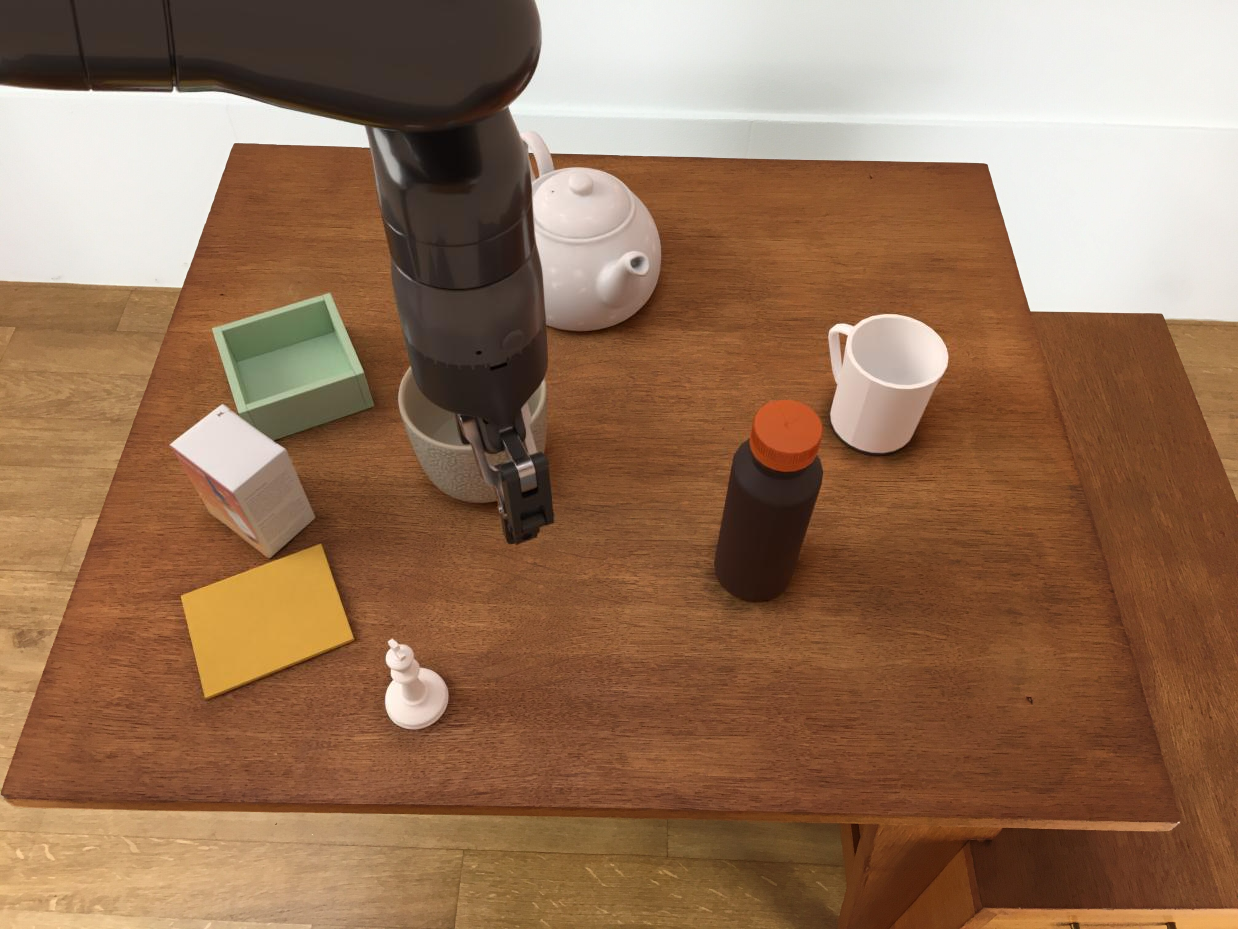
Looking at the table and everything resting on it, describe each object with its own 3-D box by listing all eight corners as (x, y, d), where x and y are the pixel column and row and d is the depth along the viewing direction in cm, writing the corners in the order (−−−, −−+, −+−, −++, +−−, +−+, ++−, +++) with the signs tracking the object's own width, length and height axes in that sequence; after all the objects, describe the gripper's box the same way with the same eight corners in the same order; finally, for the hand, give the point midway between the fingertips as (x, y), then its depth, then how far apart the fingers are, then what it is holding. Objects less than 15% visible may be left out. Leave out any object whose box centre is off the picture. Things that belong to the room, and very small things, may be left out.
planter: (410, 427, 92) (389, 349, 83) (537, 403, 94) (530, 325, 85) (428, 534, 85) (407, 462, 76) (565, 506, 87) (560, 433, 78)
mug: (934, 418, 93) (966, 345, 85) (887, 476, 89) (916, 405, 81) (837, 364, 97) (859, 289, 89) (789, 416, 93) (807, 343, 85)
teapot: (681, 238, 108) (690, 133, 97) (643, 357, 98) (648, 254, 87) (522, 210, 111) (513, 104, 100) (468, 322, 100) (451, 218, 89)
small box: (209, 514, 86) (165, 443, 78) (258, 473, 89) (221, 400, 80) (269, 561, 83) (231, 493, 75) (318, 518, 86) (286, 447, 77)
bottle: (728, 525, 86) (756, 377, 70) (801, 550, 85) (848, 405, 68) (702, 587, 82) (726, 446, 66) (778, 614, 81) (822, 477, 65)
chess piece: (407, 742, 74) (382, 691, 66) (373, 695, 76) (346, 640, 68) (460, 703, 76) (443, 649, 68) (426, 658, 78) (405, 600, 70)
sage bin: (255, 447, 91) (238, 413, 86) (228, 362, 97) (211, 328, 93) (374, 406, 94) (364, 372, 89) (341, 327, 100) (330, 292, 96)
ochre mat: (206, 700, 76) (204, 698, 76) (182, 597, 81) (180, 595, 81) (354, 640, 79) (353, 638, 79) (322, 545, 84) (321, 543, 84)
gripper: (363, 242, 53) (410, 425, 66) (447, 429, 45) (481, 594, 58) (492, 206, 55) (513, 391, 68) (593, 380, 47) (594, 551, 60)
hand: (498, 485), depth 63 cm, fingers open, 8 cm apart
